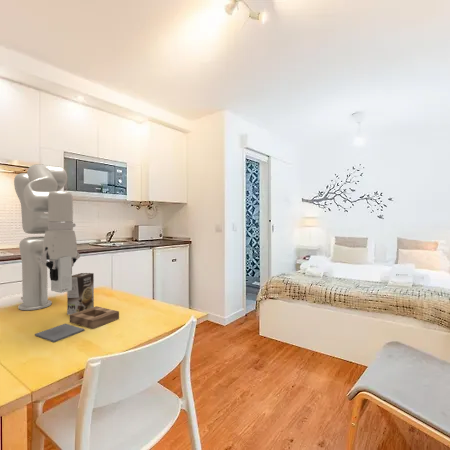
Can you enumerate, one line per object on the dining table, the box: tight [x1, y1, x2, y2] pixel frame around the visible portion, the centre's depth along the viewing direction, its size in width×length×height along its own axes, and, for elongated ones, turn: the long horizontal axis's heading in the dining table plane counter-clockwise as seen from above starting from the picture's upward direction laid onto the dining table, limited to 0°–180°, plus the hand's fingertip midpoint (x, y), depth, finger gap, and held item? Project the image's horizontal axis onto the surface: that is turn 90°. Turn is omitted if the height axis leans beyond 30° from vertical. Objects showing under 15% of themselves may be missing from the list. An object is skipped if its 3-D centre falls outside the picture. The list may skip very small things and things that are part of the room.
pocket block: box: [69, 306, 120, 330], centre depth 113 cm, size 14×12×3 cm
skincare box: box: [50, 257, 73, 294], centre depth 101 cm, size 6×4×12 cm
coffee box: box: [66, 272, 95, 316], centre depth 123 cm, size 9×6×16 cm
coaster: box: [34, 323, 85, 343], centre depth 101 cm, size 11×11×1 cm
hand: (61, 278), depth 101 cm, fingers closed on skincare box, 4 cm apart
